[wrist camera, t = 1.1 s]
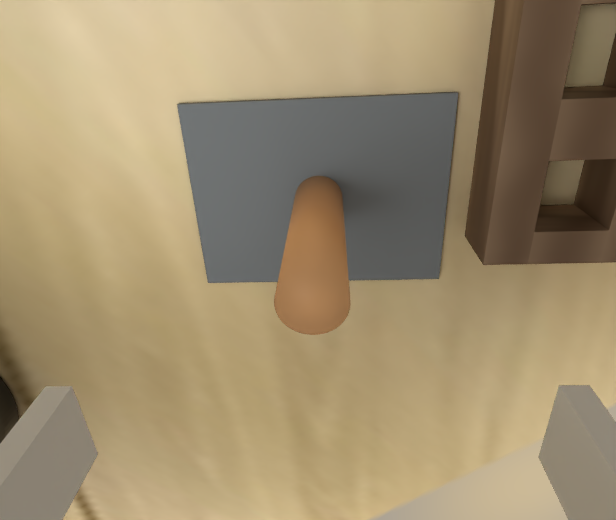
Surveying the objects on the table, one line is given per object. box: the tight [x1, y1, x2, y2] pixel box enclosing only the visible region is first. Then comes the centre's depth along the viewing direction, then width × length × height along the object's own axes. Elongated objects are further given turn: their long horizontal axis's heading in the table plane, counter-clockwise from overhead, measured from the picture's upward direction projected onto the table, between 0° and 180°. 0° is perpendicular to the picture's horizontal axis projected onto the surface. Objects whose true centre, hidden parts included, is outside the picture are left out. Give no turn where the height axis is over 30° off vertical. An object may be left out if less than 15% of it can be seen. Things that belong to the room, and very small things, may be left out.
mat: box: [177, 92, 458, 283], centre depth 28 cm, size 16×12×1 cm
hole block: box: [465, 0, 616, 265], centre depth 22 cm, size 9×22×4 cm, turn 3°
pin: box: [274, 176, 350, 335], centre depth 23 cm, size 3×3×12 cm
